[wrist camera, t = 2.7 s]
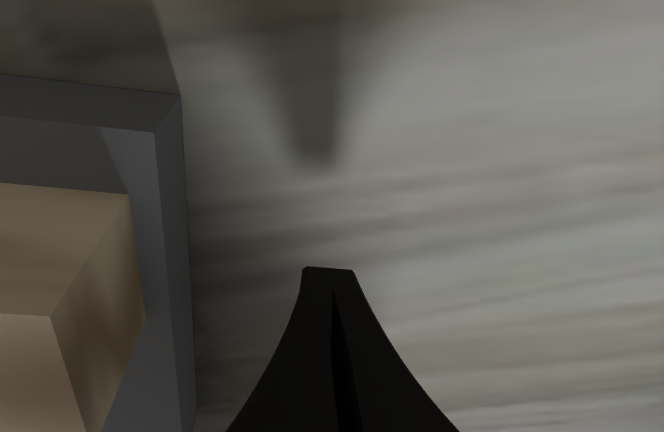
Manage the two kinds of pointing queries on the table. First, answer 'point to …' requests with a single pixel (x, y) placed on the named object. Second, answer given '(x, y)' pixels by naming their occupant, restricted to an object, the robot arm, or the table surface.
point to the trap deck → (146, 209)
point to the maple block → (65, 306)
